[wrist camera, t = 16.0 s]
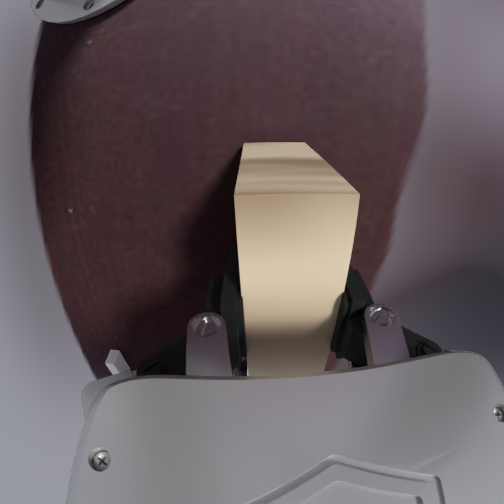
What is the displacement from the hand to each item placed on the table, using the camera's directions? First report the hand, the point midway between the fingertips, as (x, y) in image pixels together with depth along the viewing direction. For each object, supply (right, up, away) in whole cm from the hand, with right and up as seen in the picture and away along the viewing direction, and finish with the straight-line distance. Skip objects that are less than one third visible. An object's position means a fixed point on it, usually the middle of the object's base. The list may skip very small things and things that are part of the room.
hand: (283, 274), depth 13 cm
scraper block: (0, +3, +5) cm, 6 cm away
